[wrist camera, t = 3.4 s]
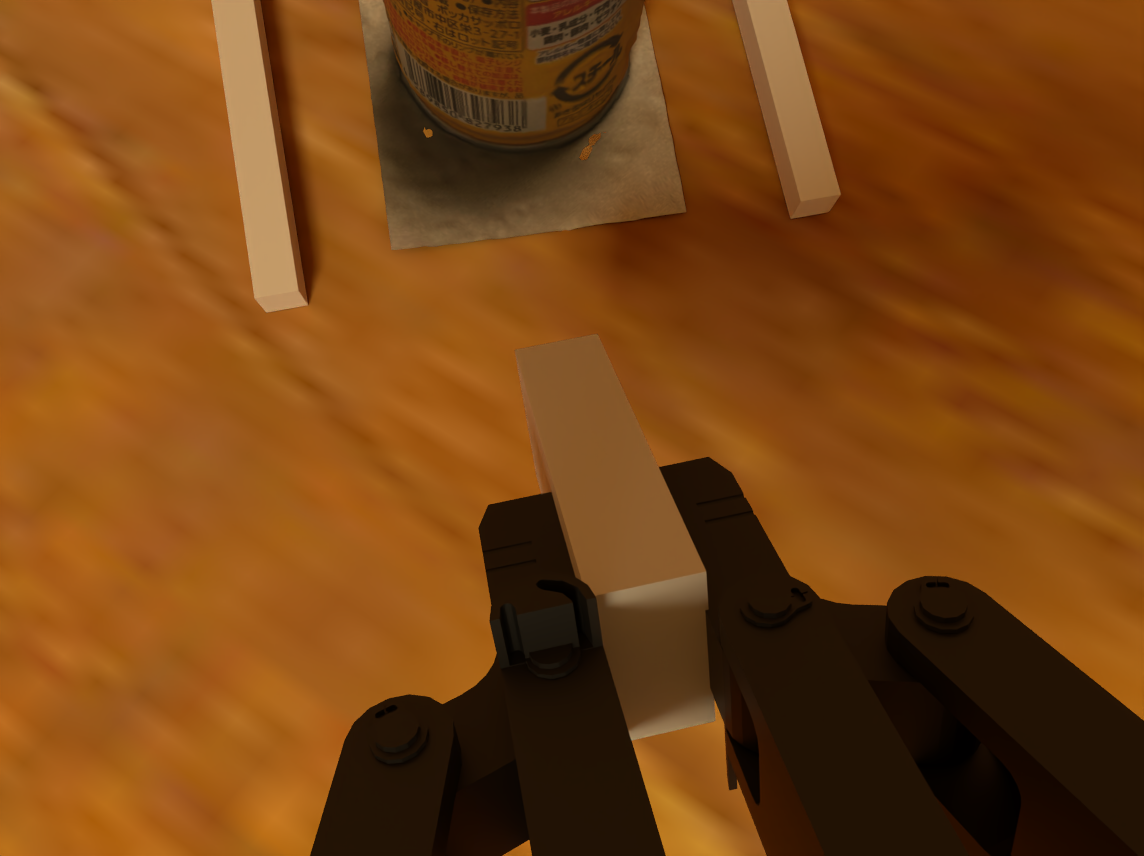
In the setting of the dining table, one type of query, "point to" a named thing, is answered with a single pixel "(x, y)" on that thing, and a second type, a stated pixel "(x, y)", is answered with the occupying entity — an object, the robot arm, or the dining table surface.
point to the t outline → (265, 165)
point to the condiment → (516, 117)
